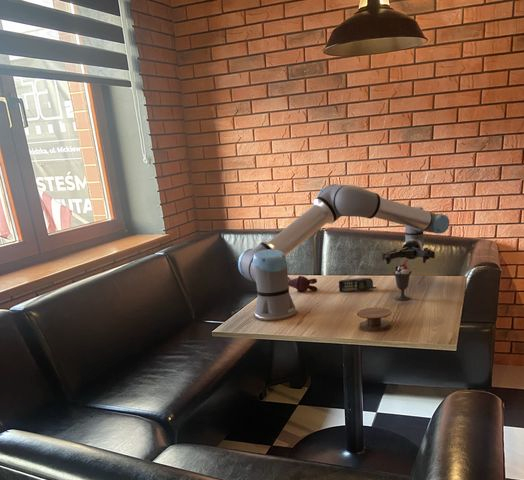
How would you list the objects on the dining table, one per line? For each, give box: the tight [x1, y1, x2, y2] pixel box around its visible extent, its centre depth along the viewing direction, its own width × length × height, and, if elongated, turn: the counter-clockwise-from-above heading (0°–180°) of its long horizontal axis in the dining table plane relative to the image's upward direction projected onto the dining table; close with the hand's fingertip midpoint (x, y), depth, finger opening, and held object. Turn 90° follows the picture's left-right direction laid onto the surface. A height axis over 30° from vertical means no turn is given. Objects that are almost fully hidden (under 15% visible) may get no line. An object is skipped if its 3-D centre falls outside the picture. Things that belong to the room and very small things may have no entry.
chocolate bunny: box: [288, 275, 318, 293], centre depth 227 cm, size 7×7×15 cm
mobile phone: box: [338, 277, 377, 293], centre depth 218 cm, size 5×3×15 cm
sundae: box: [392, 259, 413, 302], centre depth 199 cm, size 7×7×15 cm
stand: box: [356, 307, 392, 333], centre depth 174 cm, size 11×11×5 cm
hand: (405, 260), depth 206 cm, fingers open, 13 cm apart
